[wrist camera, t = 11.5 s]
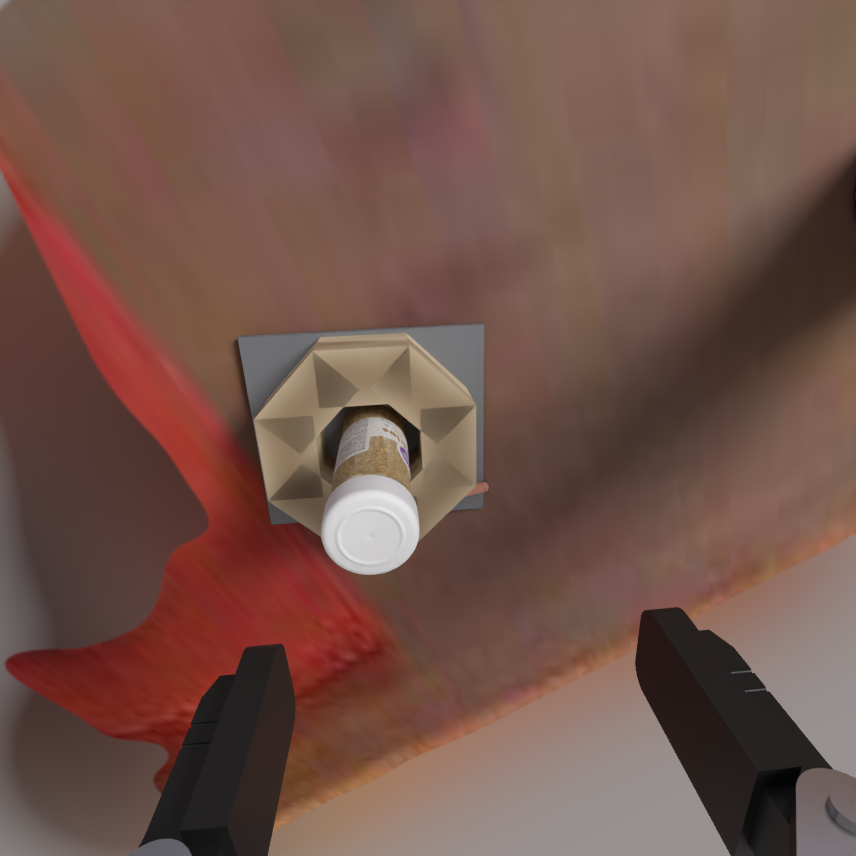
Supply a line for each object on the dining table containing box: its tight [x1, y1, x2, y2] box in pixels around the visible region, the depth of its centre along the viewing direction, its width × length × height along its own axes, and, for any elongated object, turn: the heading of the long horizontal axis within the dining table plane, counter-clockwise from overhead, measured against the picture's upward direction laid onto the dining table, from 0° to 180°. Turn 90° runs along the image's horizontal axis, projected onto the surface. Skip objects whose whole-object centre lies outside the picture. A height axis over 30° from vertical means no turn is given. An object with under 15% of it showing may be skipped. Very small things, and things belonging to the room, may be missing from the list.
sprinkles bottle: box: [321, 404, 420, 575], centre depth 29 cm, size 5×5×14 cm
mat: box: [238, 323, 484, 525], centre depth 35 cm, size 16×14×1 cm
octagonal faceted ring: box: [254, 333, 476, 541], centre depth 33 cm, size 14×14×4 cm
